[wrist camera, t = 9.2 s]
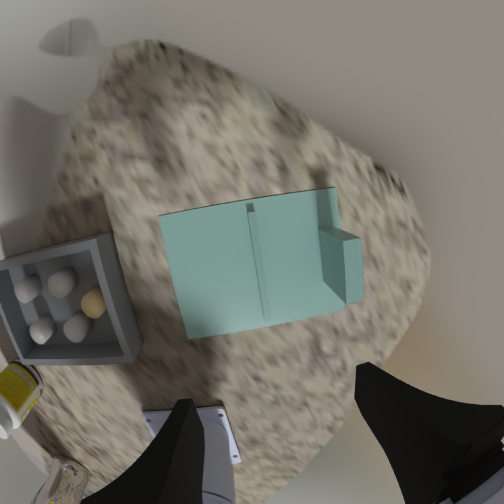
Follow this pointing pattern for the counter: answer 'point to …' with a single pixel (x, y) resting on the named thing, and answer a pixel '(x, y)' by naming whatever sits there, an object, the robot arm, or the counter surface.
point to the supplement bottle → (17, 395)
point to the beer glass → (63, 483)
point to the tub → (69, 304)
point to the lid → (261, 262)
